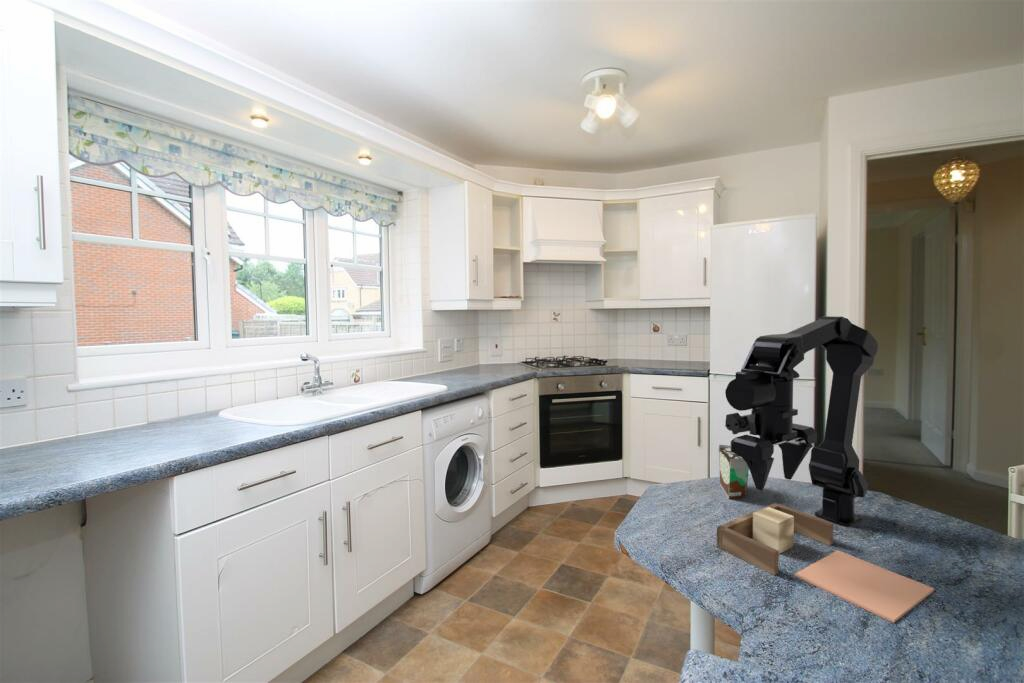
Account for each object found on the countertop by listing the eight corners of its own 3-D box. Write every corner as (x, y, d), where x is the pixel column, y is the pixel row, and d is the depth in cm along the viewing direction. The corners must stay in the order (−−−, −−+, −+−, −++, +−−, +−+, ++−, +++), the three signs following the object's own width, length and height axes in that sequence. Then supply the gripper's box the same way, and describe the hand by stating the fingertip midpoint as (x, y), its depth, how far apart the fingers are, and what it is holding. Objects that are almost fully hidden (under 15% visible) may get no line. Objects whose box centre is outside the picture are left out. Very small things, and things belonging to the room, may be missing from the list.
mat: (837, 552, 87) (837, 550, 87) (933, 590, 75) (934, 588, 75) (794, 576, 80) (794, 573, 80) (893, 622, 68) (893, 620, 68)
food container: (758, 503, 109) (759, 460, 108) (730, 501, 110) (730, 459, 109) (744, 483, 121) (744, 444, 120) (718, 481, 122) (718, 444, 121)
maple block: (767, 536, 94) (768, 506, 94) (793, 546, 90) (793, 516, 89) (752, 543, 92) (752, 513, 91) (778, 554, 87) (778, 523, 87)
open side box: (775, 521, 100) (775, 502, 100) (833, 543, 90) (833, 523, 90) (716, 547, 90) (716, 526, 90) (774, 575, 81) (774, 552, 80)
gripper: (763, 391, 100) (762, 462, 101) (705, 402, 91) (705, 481, 92) (819, 399, 90) (817, 478, 92) (761, 413, 81) (760, 501, 82)
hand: (774, 484), depth 90 cm, fingers open, 9 cm apart
